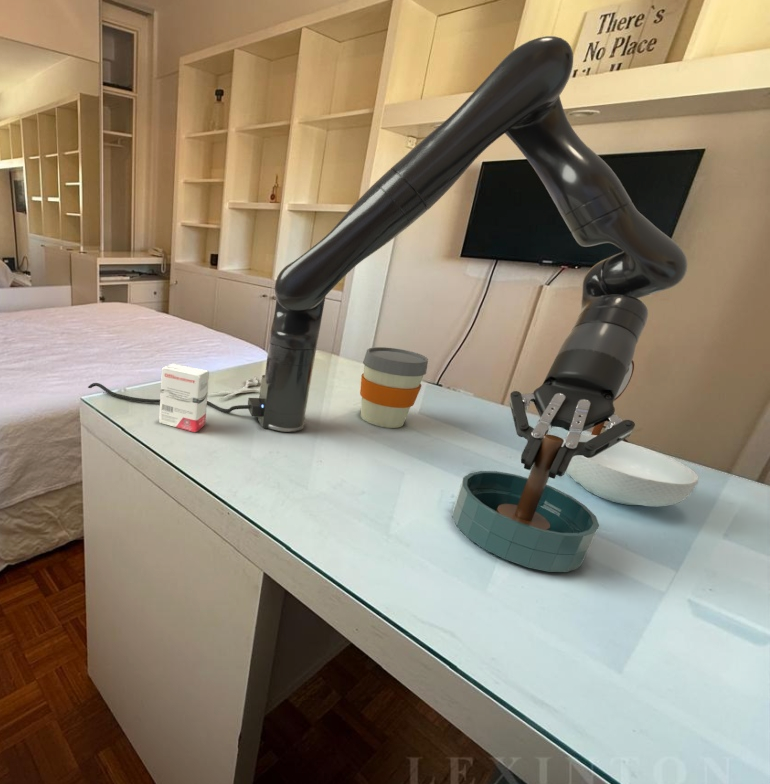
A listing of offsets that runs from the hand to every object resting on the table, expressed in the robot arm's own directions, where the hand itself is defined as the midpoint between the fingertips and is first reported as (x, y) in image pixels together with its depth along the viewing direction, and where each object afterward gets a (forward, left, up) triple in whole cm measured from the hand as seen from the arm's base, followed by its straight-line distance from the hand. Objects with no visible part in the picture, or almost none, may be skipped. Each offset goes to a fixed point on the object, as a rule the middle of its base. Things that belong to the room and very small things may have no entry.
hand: (539, 470), depth 58 cm
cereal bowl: (+29, +14, -12) cm, 34 cm away
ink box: (-43, +36, -12) cm, 57 cm away
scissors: (-27, +56, -12) cm, 63 cm away
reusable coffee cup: (+2, +42, -12) cm, 44 cm away
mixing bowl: (+2, +2, -12) cm, 12 cm away
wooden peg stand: (+2, +1, -10) cm, 10 cm away
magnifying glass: (+38, +28, -12) cm, 48 cm away
